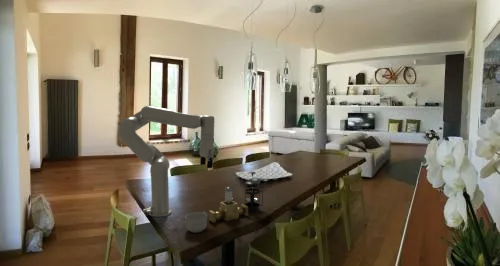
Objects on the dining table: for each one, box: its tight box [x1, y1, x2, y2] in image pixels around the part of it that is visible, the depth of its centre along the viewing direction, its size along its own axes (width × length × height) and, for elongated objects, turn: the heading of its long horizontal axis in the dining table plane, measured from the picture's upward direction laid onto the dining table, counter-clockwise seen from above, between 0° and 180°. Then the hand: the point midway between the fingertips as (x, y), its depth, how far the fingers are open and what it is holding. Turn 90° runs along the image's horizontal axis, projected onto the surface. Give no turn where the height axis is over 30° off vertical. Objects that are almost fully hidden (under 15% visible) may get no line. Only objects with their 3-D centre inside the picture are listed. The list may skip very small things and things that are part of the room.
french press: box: [244, 171, 264, 213], centre depth 199 cm, size 12×9×23 cm
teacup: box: [184, 211, 209, 234], centre depth 169 cm, size 14×11×8 cm
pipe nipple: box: [224, 186, 233, 205], centre depth 186 cm, size 4×4×12 cm
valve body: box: [208, 200, 249, 224], centre depth 186 cm, size 22×8×8 cm, turn 123°
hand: (206, 166), depth 194 cm, fingers open, 9 cm apart
